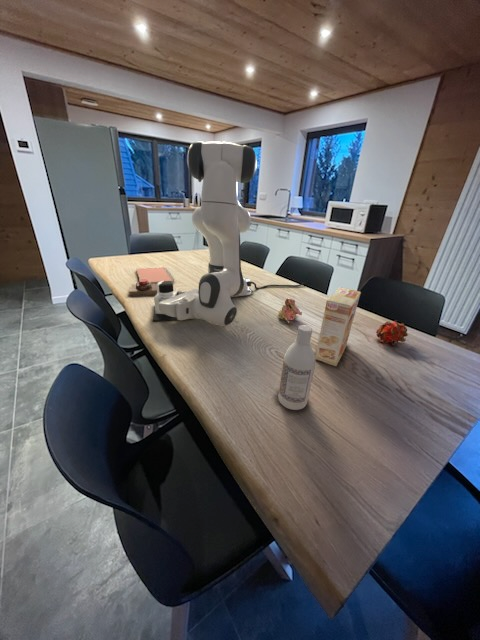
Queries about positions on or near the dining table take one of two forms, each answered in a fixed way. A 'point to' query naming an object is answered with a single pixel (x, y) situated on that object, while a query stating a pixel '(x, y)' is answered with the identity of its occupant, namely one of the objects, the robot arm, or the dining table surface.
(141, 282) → the button
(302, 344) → the bath foam
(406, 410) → the dining table surface
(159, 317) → the mat
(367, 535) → the dining table surface
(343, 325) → the coffeecake box
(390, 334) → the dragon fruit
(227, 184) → the robot arm
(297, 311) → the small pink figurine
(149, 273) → the notebook
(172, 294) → the medicine bottle
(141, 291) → the button box
